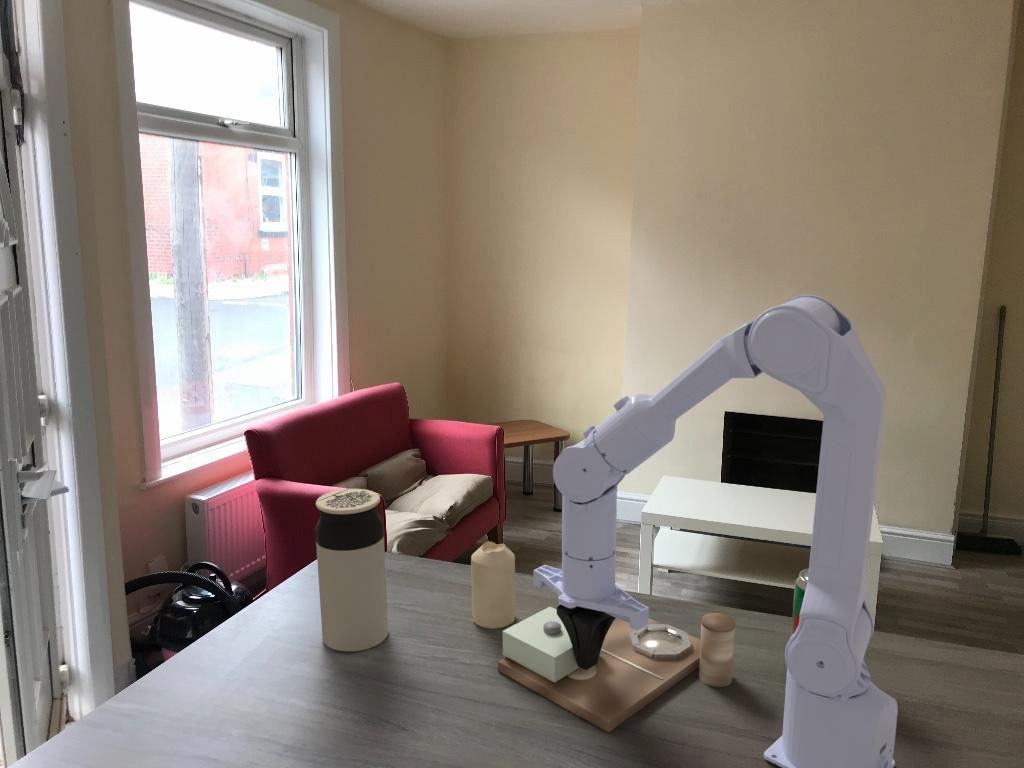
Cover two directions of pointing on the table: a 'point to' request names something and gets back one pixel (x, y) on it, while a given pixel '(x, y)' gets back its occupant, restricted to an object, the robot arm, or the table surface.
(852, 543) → the robot arm
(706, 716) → the table surface
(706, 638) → the peg
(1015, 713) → the table surface
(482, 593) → the candle
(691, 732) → the table surface
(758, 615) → the table surface
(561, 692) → the board
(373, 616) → the travel mug
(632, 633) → the socket ring
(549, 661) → the cover
